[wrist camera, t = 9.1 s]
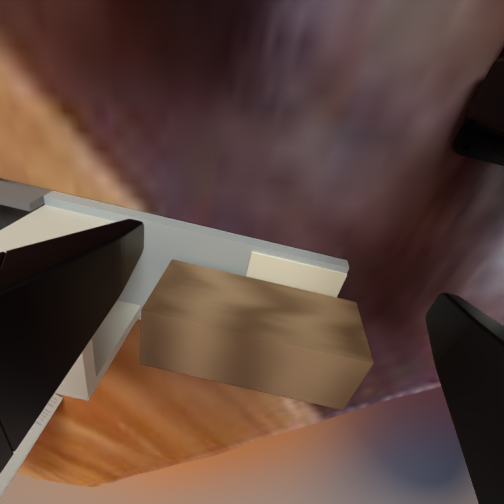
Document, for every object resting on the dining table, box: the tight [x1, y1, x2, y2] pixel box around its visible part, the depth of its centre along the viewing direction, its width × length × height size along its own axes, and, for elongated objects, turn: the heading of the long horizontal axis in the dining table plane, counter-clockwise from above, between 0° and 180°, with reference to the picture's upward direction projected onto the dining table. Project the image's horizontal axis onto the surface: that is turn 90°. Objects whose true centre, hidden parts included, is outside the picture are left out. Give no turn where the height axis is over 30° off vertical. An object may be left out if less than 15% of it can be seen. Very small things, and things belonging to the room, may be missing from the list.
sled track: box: [0, 178, 349, 401], centre depth 21 cm, size 27×10×9 cm, turn 78°
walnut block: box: [140, 259, 374, 410], centre depth 22 cm, size 14×5×6 cm, turn 78°
